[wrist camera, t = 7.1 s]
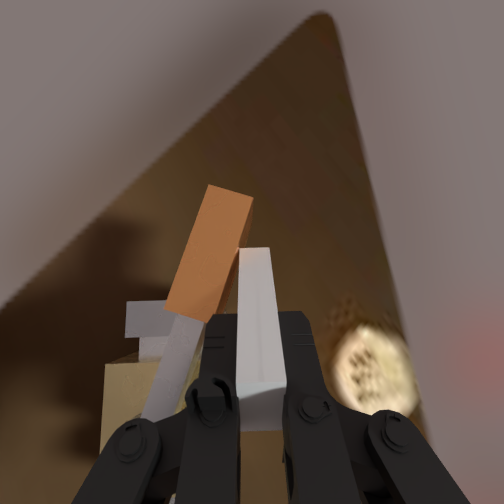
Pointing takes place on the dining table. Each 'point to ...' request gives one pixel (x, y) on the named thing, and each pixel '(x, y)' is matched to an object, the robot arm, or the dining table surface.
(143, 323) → the valve body
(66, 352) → the dining table surface
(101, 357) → the dining table surface
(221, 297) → the lever
